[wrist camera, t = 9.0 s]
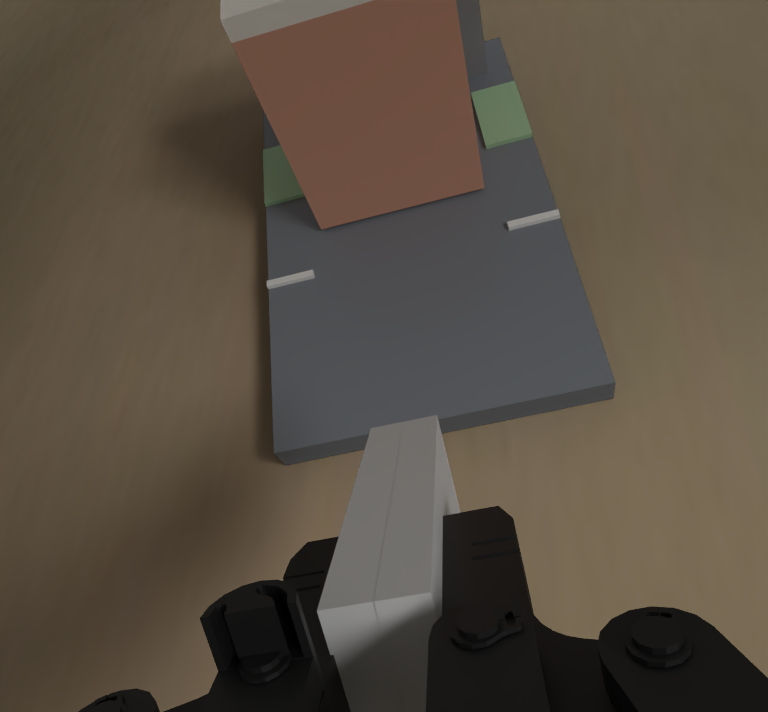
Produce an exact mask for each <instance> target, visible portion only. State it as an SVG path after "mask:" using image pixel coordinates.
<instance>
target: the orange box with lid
mask: <svg viewBox="0 0 768 712" xmlns="http://www.w3.org/2000/svg"><path fill="white" fill-rule="evenodd" d="M220 20H221V22H222V25H223V27H224V29H225V31H226V33H227V35H228V37H229V39H230V41H231V43H232V45H233V47H234V49H235V52H236V54H237V56H238V58H239V60H240V62H241V64H242V66H243V68H244V70H245V72H246V74H247V77H248V79H249V81H250V83H251V85H252V87H253V89H254V91H255V93H256V95H257V97H258V99H259V101H260V104H261V106H262V108H263V110H264V112H265V114H266V116H267V118H268V120H269V122H270V124H271V126H272V128H273V131H274V133H275V135H276V137H277V139H278V141H279V143H280V145H281V147H282V149H283V151H284V153H285V156H286V158H287V160H288V162H289V164H290V166H291V168H292V170H293V172H294V174H295V176H296V178H297V180H298V183H299V185H300V187H301V189H302V191H303V193H304V195H305V197H306V199H307V201H308V203H309V205H310V207H311V210H312V212H313V214H314V216H315V218H316V220H317V222H318V224H319V226H320V228H321V230H322V229H326V228H330V227H334V226H337V225H341V224H345V223H349V222H353V221H357V220H361V219H365V218H369V217H373V216H377V215H381V214H385V213H389V212H393V211H396V210H400V209H404V208H408V207H412V206H416V205H420V204H424V203H428V202H432V201H436V200H440V199H444V198H448V197H451V196H455V195H459V194H463V193H467V192H471V191H475V190H479V189H483V188H485V187H484V181H483V174H482V168H481V161H480V155H479V148H478V142H477V135H476V129H475V122H474V115H473V109H472V102H471V96H470V89H469V83H468V76H467V70H466V63H465V56H464V50H463V43H462V37H461V30H460V24H459V17H458V11H457V4H456V0H221V7H220Z"/></svg>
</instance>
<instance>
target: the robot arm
mask: <svg viewBox="0 0 768 712" xmlns="http://www.w3.org/2000/svg"><path fill="white" fill-rule="evenodd" d="M283 579H284V581H280V580H265V581H258V582H254V583H251V584H247V585H244V586H241V587H239V588H237V589H235V590H233V591H231V592H229V593H227V594H225V595H223V596H222V597H221V598H219V599H218V600H217V601H215V602H214V603H213V604H211V605H210V606H209V607H208V609H207V610H206V611H205V612H204V614H203V615H202V616H201V617H200V620H201V623H202V626H203V629H204V632H205V635H206V637H207V640H208V643H209V646H210V649H211V652H212V654H213V657H214V660H215V663H216V666H217V669H218V674H217V676H216V678H215V680H214V682H213V684H212V687H211V689H210V691H209V693H208V694H206V695H204V696H202V697H200V698H198V699H195V700H193V701H190V702H188V703H185V704H182V705H180V706H177V707H175V708H172V709H169V710H167V711H164V712H768V678H767V677H766V676H765V675H764V674H763V673H762V672H761V671H760V670H759V669H758V668H757V667H756V666H754V665H753V664H752V663H751V662H750V661H749V660H748V659H747V658H746V657H745V656H744V655H743V654H742V653H741V652H740V651H739V650H738V649H737V648H736V647H735V646H734V645H732V644H731V643H730V642H729V641H728V640H727V639H726V638H725V637H724V636H723V635H722V634H721V633H720V632H719V631H718V630H717V629H716V628H715V627H714V626H712V625H711V624H709V623H708V622H706V621H705V620H703V619H702V618H700V617H699V616H697V615H695V614H692V613H689V612H685V611H682V610H679V609H676V608H666V607H646V608H640V609H635V610H629V611H627V612H625V613H623V614H621V615H619V616H617V617H615V618H613V619H611V620H610V621H609V623H608V624H607V625H606V626H605V627H604V628H603V629H602V630H601V631H600V635H599V640H594V639H583V638H577V637H571V636H566V635H563V634H560V633H558V632H555V631H552V630H551V629H549V628H548V627H546V626H545V625H543V624H542V623H541V622H540V621H539V620H538V619H537V618H536V617H535V616H534V614H533V608H532V603H531V598H530V593H529V589H528V584H527V580H526V575H525V571H524V566H523V562H522V557H521V552H520V548H519V543H518V539H517V534H516V530H515V525H514V520H513V518H512V517H511V516H510V515H509V514H507V513H506V512H505V511H504V510H503V509H501V508H500V507H499V506H495V507H489V508H484V509H478V510H473V511H467V512H462V513H460V509H459V505H458V501H457V496H456V492H455V488H454V484H453V480H452V475H451V471H450V467H449V463H448V459H447V454H446V450H445V446H444V442H443V438H442V434H441V429H440V425H439V421H438V417H437V415H434V416H429V417H424V418H419V419H414V420H409V421H404V422H399V423H394V424H389V425H384V426H379V427H374V428H371V430H370V433H369V437H368V440H367V443H366V447H365V450H364V453H363V457H362V460H361V464H360V467H359V470H358V474H357V477H356V480H355V484H354V487H353V491H352V494H351V497H350V501H349V504H348V507H347V511H346V514H345V518H344V521H343V524H342V528H341V531H340V534H339V537H334V538H329V539H323V540H317V541H312V542H307V543H306V544H305V545H304V546H303V547H302V548H301V549H300V550H299V551H298V552H297V553H296V554H295V556H294V557H293V558H292V559H291V560H290V562H289V564H288V567H287V569H286V572H285V574H284V577H283ZM79 712H160V711H159V709H158V706H157V703H156V701H155V699H154V698H153V697H152V695H151V694H150V692H147V691H144V690H140V689H129V690H121V691H118V692H115V693H111V694H109V695H105V696H103V697H101V698H98V699H97V700H95V701H94V702H93V703H91V704H89V705H88V706H86V707H85V708H83V709H81V710H80V711H79Z"/></svg>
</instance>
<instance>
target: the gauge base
mask: <svg viewBox="0 0 768 712" xmlns="http://www.w3.org/2000/svg"><path fill="white" fill-rule="evenodd" d="M456 4H457V11H458V17H459V24H460V30H461V37H462V43H463V50H464V56H465V63H466V70H467V76H468V83H469V89H470V96H471V102H472V109H473V115H474V122H475V129H476V135H477V142H478V148H479V155H480V161H481V168H482V174H483V181H484V187H485V188H483V189H479V190H475V191H471V192H467V193H463V194H459V195H455V196H451V197H448V198H444V199H440V200H436V201H432V202H428V203H424V204H420V205H416V206H412V207H408V208H404V209H400V210H396V211H393V212H389V213H385V214H381V215H377V216H373V217H369V218H365V219H361V220H357V221H353V222H349V223H345V224H341V225H337V226H334V227H330V228H326V229H322V230H321V228H320V226H319V224H318V222H317V220H316V218H315V216H314V214H313V212H312V210H311V207H310V205H309V203H308V201H307V199H306V197H305V195H304V193H303V191H302V189H301V187H300V185H299V183H298V180H297V178H296V176H295V174H294V172H293V170H292V168H291V166H290V164H289V162H288V160H287V158H286V156H285V153H284V151H283V149H282V147H281V145H280V143H279V141H278V139H277V137H276V135H275V133H274V131H273V128H272V126H271V124H270V122H269V120H268V118H267V116H266V114H265V112H264V110H263V127H264V150H263V177H264V204H265V206H266V223H267V254H268V281H267V288H268V289H269V318H270V350H271V382H272V413H273V445H274V454H275V455H276V456H277V457H278V458H279V459H280V460H281V461H282V462H283V463H284V464H285V465H290V464H294V463H299V462H304V461H309V460H314V459H319V458H324V457H329V456H334V455H338V454H343V453H348V452H353V451H358V450H363V449H365V447H366V443H367V440H368V437H369V433H370V430H371V428H374V427H379V426H384V425H389V424H394V423H399V422H404V421H409V420H414V419H419V418H424V417H429V416H434V415H437V417H438V421H439V425H440V429H441V433H446V432H451V431H456V430H461V429H465V428H470V427H475V426H480V425H485V424H490V423H495V422H500V421H505V420H509V419H514V418H519V417H524V416H529V415H534V414H539V413H544V412H549V411H553V410H558V409H563V408H568V407H573V406H578V405H583V404H588V403H593V402H597V401H602V400H607V399H612V398H614V390H615V380H614V377H613V374H612V371H611V368H610V365H609V362H608V359H607V356H606V353H605V350H604V347H603V344H602V341H601V338H600V335H599V332H598V329H597V326H596V323H595V320H594V317H593V314H592V311H591V308H590V305H589V302H588V299H587V296H586V294H585V291H584V288H583V285H582V282H581V279H580V276H579V273H578V270H577V267H576V264H575V261H574V258H573V255H572V252H571V249H570V246H569V243H568V240H567V237H566V234H565V231H564V228H563V225H562V222H561V219H560V213H559V210H558V209H557V207H556V204H555V201H554V198H553V195H552V192H551V189H550V187H549V184H548V181H547V178H546V175H545V172H544V169H543V166H542V163H541V160H540V157H539V154H538V151H537V148H536V145H535V142H534V139H533V133H532V130H531V127H530V124H529V121H528V118H527V115H526V112H525V109H524V106H523V103H522V100H521V97H520V95H519V92H518V89H517V86H516V83H515V81H514V80H513V77H512V74H511V71H510V68H509V65H508V62H507V59H506V56H505V53H504V50H503V47H502V44H501V41H500V38H496V39H492V40H489V41H485V42H484V39H483V31H482V22H481V14H480V6H479V0H456Z"/></svg>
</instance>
